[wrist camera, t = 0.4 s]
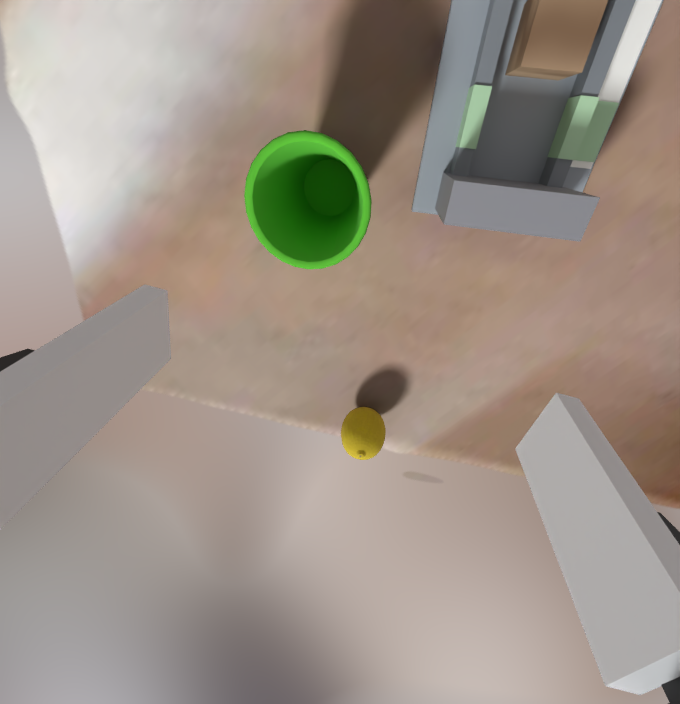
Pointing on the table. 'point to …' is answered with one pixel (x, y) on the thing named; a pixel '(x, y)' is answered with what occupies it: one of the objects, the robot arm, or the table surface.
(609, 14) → the base
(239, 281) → the table surface
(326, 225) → the cup
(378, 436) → the lemon
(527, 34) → the tan wooden cube
